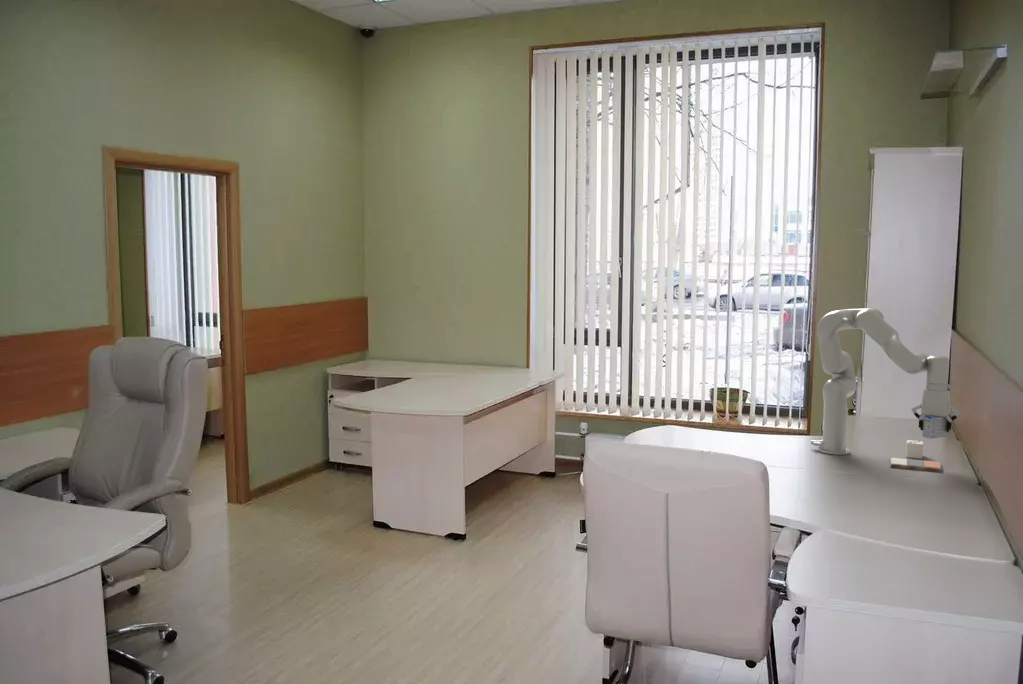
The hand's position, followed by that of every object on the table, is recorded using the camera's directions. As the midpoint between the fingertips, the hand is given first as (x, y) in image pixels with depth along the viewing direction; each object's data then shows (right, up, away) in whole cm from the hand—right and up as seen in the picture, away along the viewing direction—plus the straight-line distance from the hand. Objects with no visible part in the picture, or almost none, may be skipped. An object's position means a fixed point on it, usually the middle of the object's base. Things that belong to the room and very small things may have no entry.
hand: (934, 430), depth 337 cm
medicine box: (0, -3, +1) cm, 3 cm away
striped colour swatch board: (-6, -15, +4) cm, 16 cm away
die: (+1, -13, +20) cm, 23 cm away
